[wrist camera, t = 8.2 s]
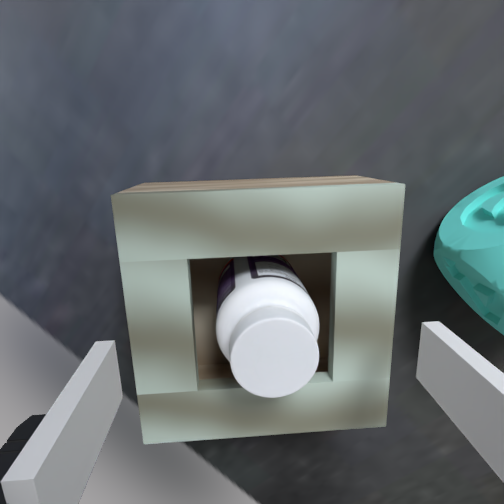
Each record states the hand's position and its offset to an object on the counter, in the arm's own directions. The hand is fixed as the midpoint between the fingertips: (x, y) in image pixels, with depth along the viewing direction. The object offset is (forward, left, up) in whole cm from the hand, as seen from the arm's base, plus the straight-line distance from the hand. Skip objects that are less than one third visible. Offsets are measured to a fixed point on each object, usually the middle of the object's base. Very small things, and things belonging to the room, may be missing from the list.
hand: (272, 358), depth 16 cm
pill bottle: (0, 0, -10) cm, 10 cm away
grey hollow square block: (0, 0, -11) cm, 11 cm away
